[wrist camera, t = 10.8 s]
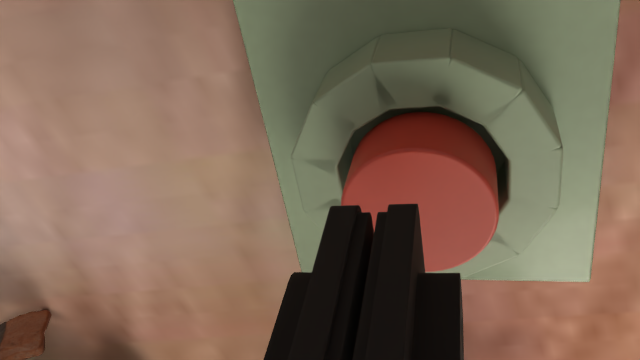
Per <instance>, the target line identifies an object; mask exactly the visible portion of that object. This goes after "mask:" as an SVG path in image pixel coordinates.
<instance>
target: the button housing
mask: <svg viewBox="0 0 640 360" xmlns="http://www.w3.org/2000/svg"><path fill="white" fill-rule="evenodd" d="M233 2H234V6H235V10H236V14H237V18H238V22H239V26H240V30H241V34H242V38H243V42H244V45H245V49H246V53H247V57H248V61H249V65H250V69H251V73H252V77H253V81H254V85H255V89H256V93H257V97H258V101H259V105H260V109H261V113H262V117H263V121H264V125H265V129H266V132H267V136H268V140H269V144H270V148H271V152H272V156H273V160H274V164H275V168H276V172H277V176H278V180H279V184H280V188H281V192H282V196H283V200H284V204H285V208H286V212H287V216H288V219H289V223H290V227H291V231H292V235H293V239H294V243H295V247H296V251H297V255H298V259H299V263H300V267H301V271H302V272H312V270H313V266H314V262H315V259H316V255H317V252H318V248H319V244H320V241H321V237H322V234H323V230H324V226H325V223H326V219H327V216H328V212H329V209H330V207H331V206H341V197H342V193H343V189H344V185H345V182H346V179H347V175H348V172H349V169H350V166H351V162H352V159H353V156H354V153H355V150H356V148H357V146H358V144H359V143H360V141H361V140H362V138H363V137H364V136H365V135H366V134H367V133H368V132H369V131H370V130H371V129H372V128H373V127H375V126H376V125H378V124H379V123H381V122H383V121H385V120H387V119H389V118H391V117H394V116H397V115H401V114H405V113H412V112H431V113H438V114H442V115H446V116H449V117H452V118H455V119H457V120H459V121H461V122H463V123H464V124H466V125H467V126H469V127H470V128H472V129H473V130H474V131H475V132H476V133H478V134H479V135H480V136H481V137H482V139H483V140H484V141H485V142H486V144H487V145H488V147H489V148H490V150H491V152H492V155H493V157H494V160H495V164H496V173H497V188H498V203H499V220H498V224H497V228H496V231H495V233H494V235H493V237H492V239H491V240H490V242H489V243H488V245H487V246H486V247H485V248H484V249H483V250H482V251H481V252H480V253H479V254H478V255H477V256H475V257H474V258H472V259H471V260H469V261H468V262H466V263H464V264H461V265H459V266H456V267H454V268H451V269H446V270H442V271H435V272H425V273H460V276H461V279H463V280H514V281H565V282H589V281H590V279H591V270H592V260H593V251H594V242H595V232H596V223H597V214H598V205H599V195H600V186H601V177H602V167H603V158H604V149H605V140H606V130H607V121H608V112H609V102H610V93H611V84H612V74H613V65H614V56H615V47H616V37H617V28H618V19H619V9H620V0H233Z"/></svg>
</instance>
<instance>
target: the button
mask: <svg viewBox="0 0 640 360" xmlns="http://www.w3.org/2000/svg"><path fill="white" fill-rule="evenodd" d="M389 204H418V207H419V215H420V225H421V235H422V244H423V254H424V264H425V272H435V271H442V270H446V269H451V268H454V267H456V266H459V265H461V264H464V263H466V262H468V261H469V260H471V259H472V258H474V257H475V256H477V255H478V254H479V253H480V252H481V251H482V250H483V249H484V248H485V247H486V246H487V245H488V243H489V242H490V240H491V239H492V237H493V235H494V233H495V231H496V228H497V224H498V220H499V203H498V188H497V173H496V164H495V160H494V157H493V155H492V152H491V150H490V148H489V147H488V145H487V144H486V142H485V141H484V140H483V139H482V137H481V136H480V135H479V134H478V133H476V132H475V131H474V130H473V129H472V128H470V127H469V126H467V125H466V124H464V123H463V122H461V121H459V120H457V119H455V118H452V117H449V116H446V115H442V114H438V113H431V112H412V113H405V114H401V115H397V116H394V117H391V118H389V119H387V120H385V121H383V122H381V123H379V124H378V125H376V126H375V127H373V128H372V129H371V130H370V131H369V132H368V133H367V134H366V135H365V136H364V137H363V138H362V140H361V141H360V143H359V144H358V146H357V148H356V150H355V153H354V156H353V159H352V162H351V166H350V169H349V172H348V175H347V179H346V182H345V185H344V189H343V193H342V197H341V206H343V205H359V206H360V208H361V211H362V212H370V213H371V216H372V222H373V228H374V230H375V225H376V219H377V214H378V212H387V210H388V205H389Z"/></svg>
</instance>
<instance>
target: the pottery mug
mask: <svg viewBox="0 0 640 360" xmlns="http://www.w3.org/2000/svg"><path fill="white" fill-rule="evenodd" d="M50 317H51V313H50V312H49V311H47V310H41V311H37V312H29V313H27V314H24V315H19V316H17V317H15V318H13V319H11V320H9V321H8V322H4V323H2V324H1V325H0V360H24V359H28V358H31V357H35V356H39V355H41V354H42V353H43V352H44V349H45V336H44V332H45V330H46V328H47V326H48V323H49V320H50Z"/></svg>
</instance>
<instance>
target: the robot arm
mask: <svg viewBox="0 0 640 360" xmlns="http://www.w3.org/2000/svg"><path fill="white" fill-rule="evenodd" d="M264 360H464V346H463V312H462V292H461V276H460V273H425V264H424V254H423V244H422V235H421V225H420V215H419V207H418V204H389V205H388V210H387V212H378V214H377V219H376V225H375V230H374V228H373V222H372V216H371V213H370V212H362V211H361V208H360V206H359V205H343V206H331V207H330V209H329V212H328V216H327V219H326V223H325V226H324V230H323V234H322V237H321V241H320V244H319V248H318V252H317V255H316V259H315V262H314V266H313V270H312V272H294V273H293V274H292V275H291V277H290V279H289V282H288V285H287V288H286V291H285V294H284V297H283V300H282V304H281V307H280V310H279V313H278V316H277V319H276V323H275V326H274V329H273V332H272V335H271V338H270V341H269V345H268V348H267V351H266V354H265V357H264Z"/></svg>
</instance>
